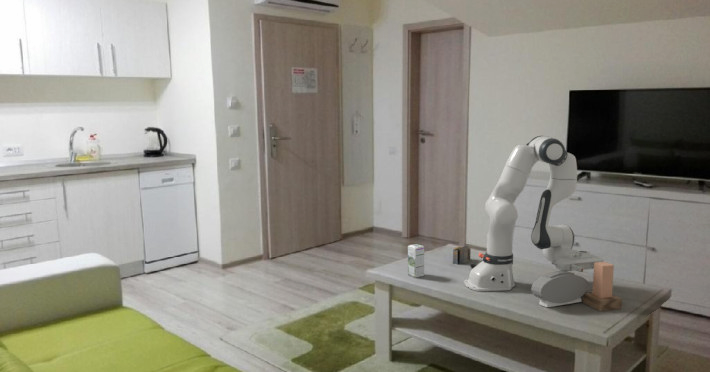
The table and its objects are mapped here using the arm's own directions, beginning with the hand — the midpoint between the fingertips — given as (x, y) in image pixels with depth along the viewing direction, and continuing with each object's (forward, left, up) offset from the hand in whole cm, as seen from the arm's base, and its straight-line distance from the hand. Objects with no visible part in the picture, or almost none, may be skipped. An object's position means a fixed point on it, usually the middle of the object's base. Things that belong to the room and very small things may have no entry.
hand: (591, 269), depth 220 cm
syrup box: (-57, +50, -13) cm, 77 cm away
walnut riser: (0, -7, -13) cm, 15 cm away
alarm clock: (-14, -1, -13) cm, 19 cm away
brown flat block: (-26, +65, -14) cm, 71 cm away
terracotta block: (0, -7, -9) cm, 11 cm away
